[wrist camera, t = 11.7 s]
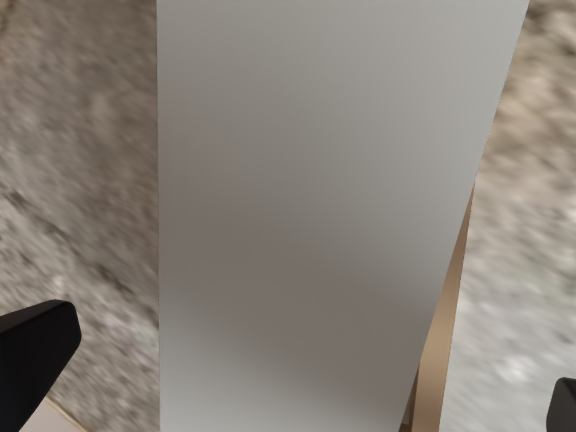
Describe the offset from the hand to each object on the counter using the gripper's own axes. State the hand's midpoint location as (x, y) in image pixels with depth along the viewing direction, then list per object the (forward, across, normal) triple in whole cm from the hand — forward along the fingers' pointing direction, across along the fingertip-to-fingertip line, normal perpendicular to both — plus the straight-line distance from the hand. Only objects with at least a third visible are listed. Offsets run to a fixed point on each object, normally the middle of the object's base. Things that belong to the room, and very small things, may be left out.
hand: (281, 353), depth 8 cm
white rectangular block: (+5, 0, 0) cm, 5 cm away
